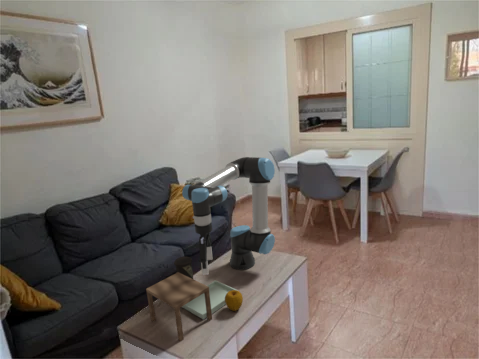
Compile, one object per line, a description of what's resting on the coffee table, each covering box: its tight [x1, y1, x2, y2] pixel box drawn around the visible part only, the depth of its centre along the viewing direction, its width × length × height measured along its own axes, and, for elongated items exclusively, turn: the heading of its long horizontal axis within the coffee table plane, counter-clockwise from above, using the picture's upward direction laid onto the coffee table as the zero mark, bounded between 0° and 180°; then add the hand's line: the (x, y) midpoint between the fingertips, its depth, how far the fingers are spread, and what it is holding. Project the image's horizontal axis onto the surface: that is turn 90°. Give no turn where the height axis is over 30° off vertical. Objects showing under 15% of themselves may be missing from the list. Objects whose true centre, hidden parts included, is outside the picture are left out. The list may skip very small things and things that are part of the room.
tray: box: [181, 280, 239, 320], centre depth 165 cm, size 24×17×2 cm
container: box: [173, 256, 194, 279], centre depth 171 cm, size 9×9×20 cm
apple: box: [225, 289, 244, 312], centre depth 158 cm, size 8×8×9 cm
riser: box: [145, 272, 213, 342], centre depth 151 cm, size 18×22×16 cm
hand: (207, 266), depth 153 cm, fingers open, 13 cm apart
